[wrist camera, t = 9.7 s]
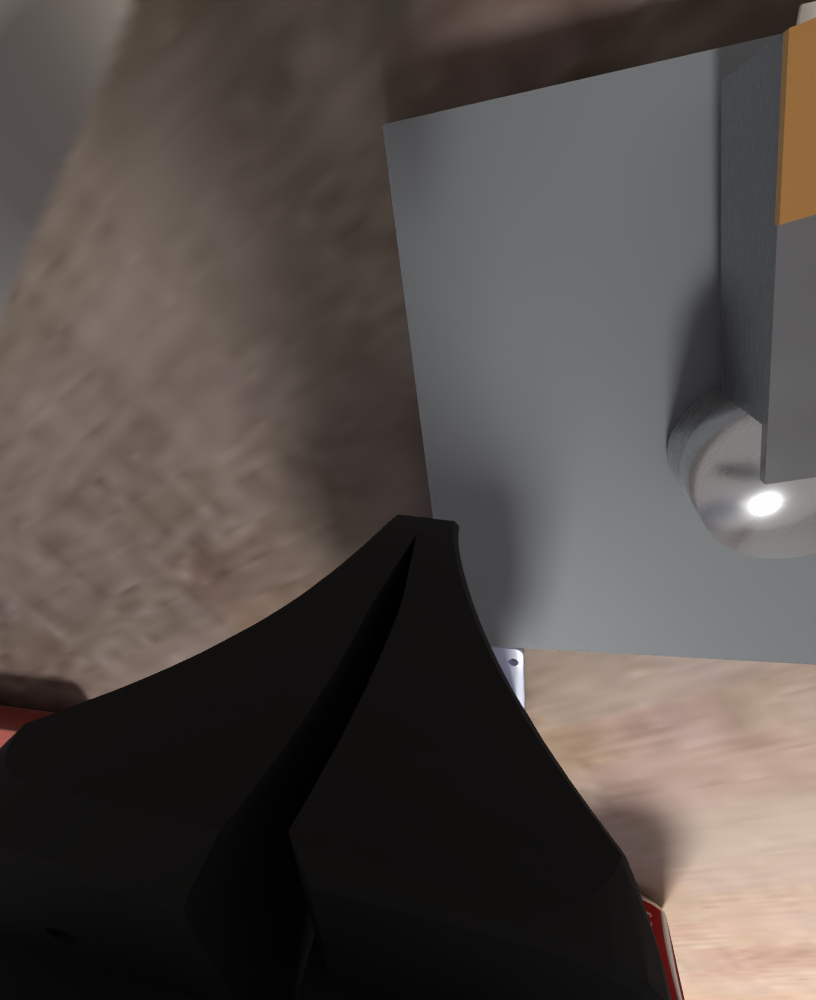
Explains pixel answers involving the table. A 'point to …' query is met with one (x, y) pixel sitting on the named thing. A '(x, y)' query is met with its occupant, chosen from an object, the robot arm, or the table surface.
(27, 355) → the table surface
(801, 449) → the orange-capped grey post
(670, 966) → the soda can
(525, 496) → the board
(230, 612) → the table surface
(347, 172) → the table surface
